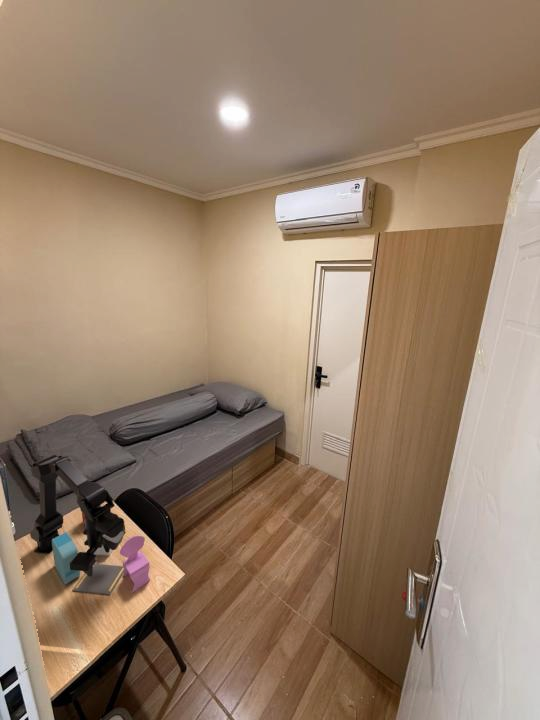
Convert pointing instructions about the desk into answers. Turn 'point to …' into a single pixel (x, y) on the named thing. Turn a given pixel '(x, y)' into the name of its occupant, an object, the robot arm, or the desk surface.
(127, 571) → the toy chair
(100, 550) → the white box
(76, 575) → the data package
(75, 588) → the mat
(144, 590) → the desk surface
